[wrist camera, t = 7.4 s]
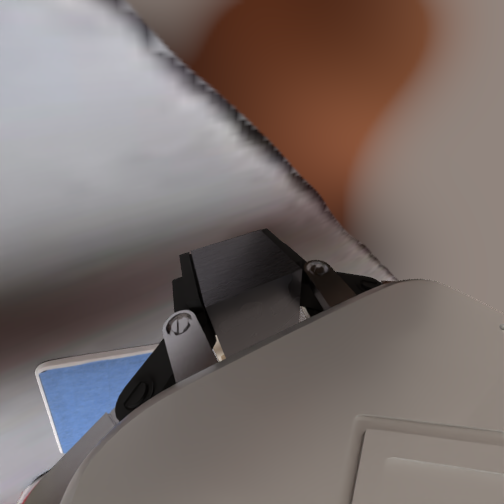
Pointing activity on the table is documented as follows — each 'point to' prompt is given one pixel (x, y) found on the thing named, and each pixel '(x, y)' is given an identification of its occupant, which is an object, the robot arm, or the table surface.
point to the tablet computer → (85, 389)
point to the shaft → (248, 289)
